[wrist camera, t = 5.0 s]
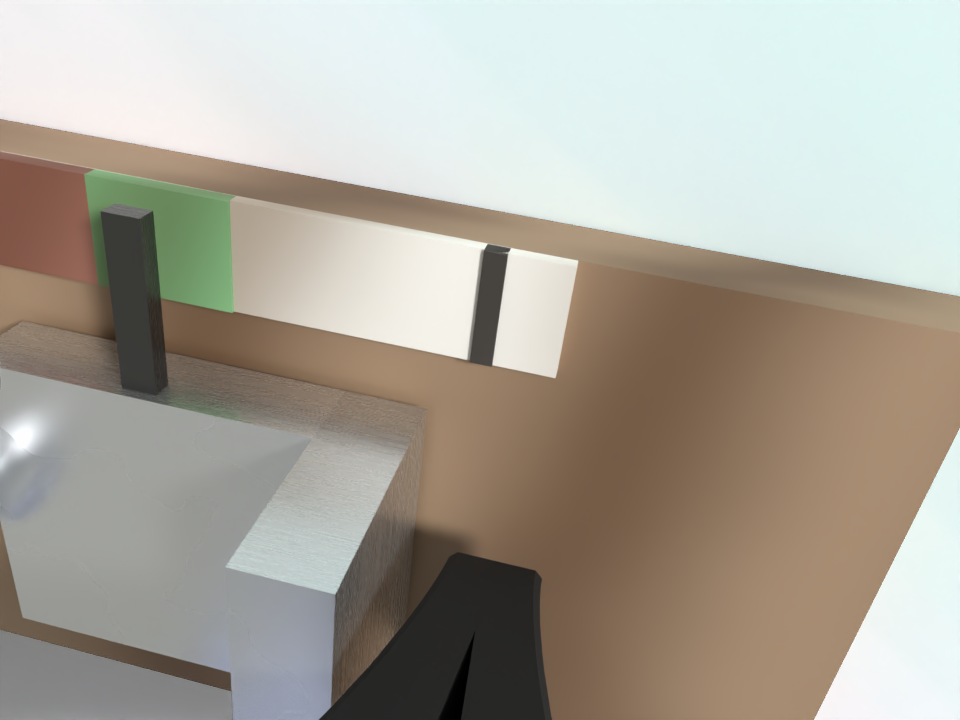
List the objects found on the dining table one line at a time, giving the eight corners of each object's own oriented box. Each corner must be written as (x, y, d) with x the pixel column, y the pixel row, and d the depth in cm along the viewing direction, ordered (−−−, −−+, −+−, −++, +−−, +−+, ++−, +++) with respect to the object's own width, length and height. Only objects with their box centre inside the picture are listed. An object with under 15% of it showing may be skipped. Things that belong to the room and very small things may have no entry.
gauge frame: (971, 298, 11) (1246, 669, 6) (752, 770, 16) (789, 1194, 11) (-354, 53, 13) (-1024, 153, 8) (-174, 531, 18) (-512, 781, 13)
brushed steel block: (443, 241, 10) (343, 387, 7) (402, 652, 14) (324, 864, 11) (-141, 129, 11) (-451, 216, 8) (-33, 542, 15) (-217, 708, 12)
